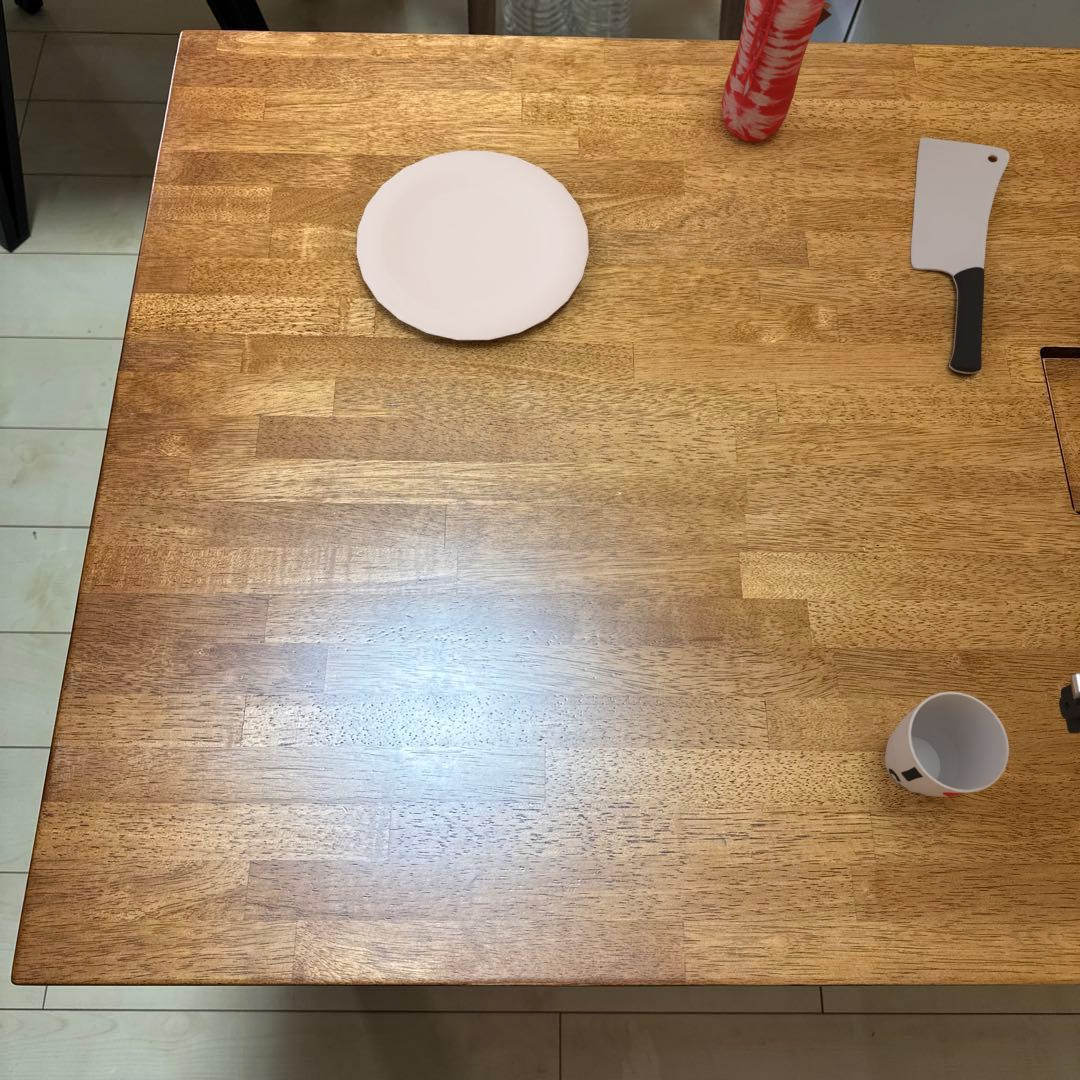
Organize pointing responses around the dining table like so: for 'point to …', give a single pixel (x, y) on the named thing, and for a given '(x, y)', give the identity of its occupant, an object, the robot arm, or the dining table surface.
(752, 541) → the dining table surface
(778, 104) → the water bottle
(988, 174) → the kitchen cleaver
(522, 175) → the plate
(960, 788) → the cup
